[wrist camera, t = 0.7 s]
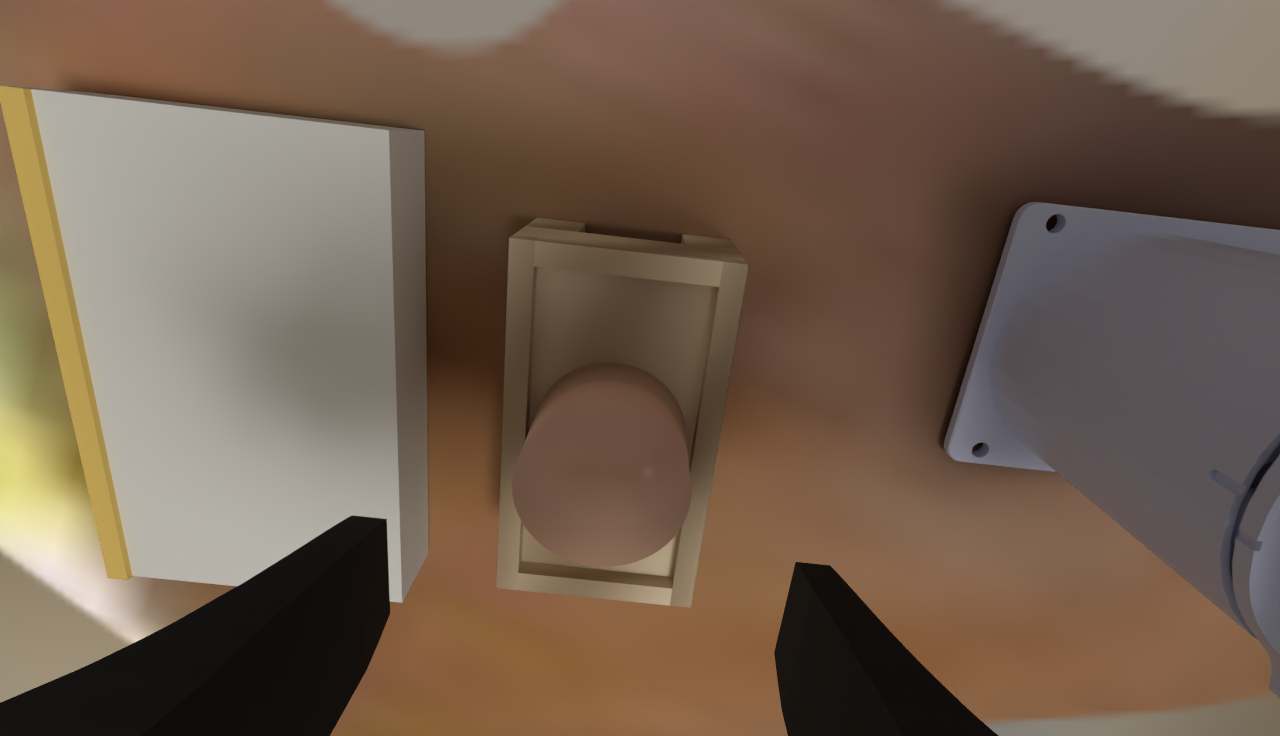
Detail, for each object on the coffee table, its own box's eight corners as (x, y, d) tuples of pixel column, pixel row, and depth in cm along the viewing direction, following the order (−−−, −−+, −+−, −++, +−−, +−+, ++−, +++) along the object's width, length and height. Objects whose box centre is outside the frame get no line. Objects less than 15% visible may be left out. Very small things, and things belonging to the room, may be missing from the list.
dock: (424, 130, 17) (385, 130, 15) (428, 553, 22) (399, 607, 20) (93, 92, 17) (-4, 85, 15) (170, 527, 22) (108, 577, 20)
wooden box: (729, 238, 18) (748, 264, 15) (684, 526, 22) (690, 607, 18) (538, 216, 18) (508, 237, 15) (523, 509, 22) (496, 588, 18)
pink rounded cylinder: (694, 371, 16) (703, 420, 13) (675, 504, 18) (679, 575, 15) (539, 354, 16) (514, 401, 13) (532, 490, 18) (509, 557, 15)
